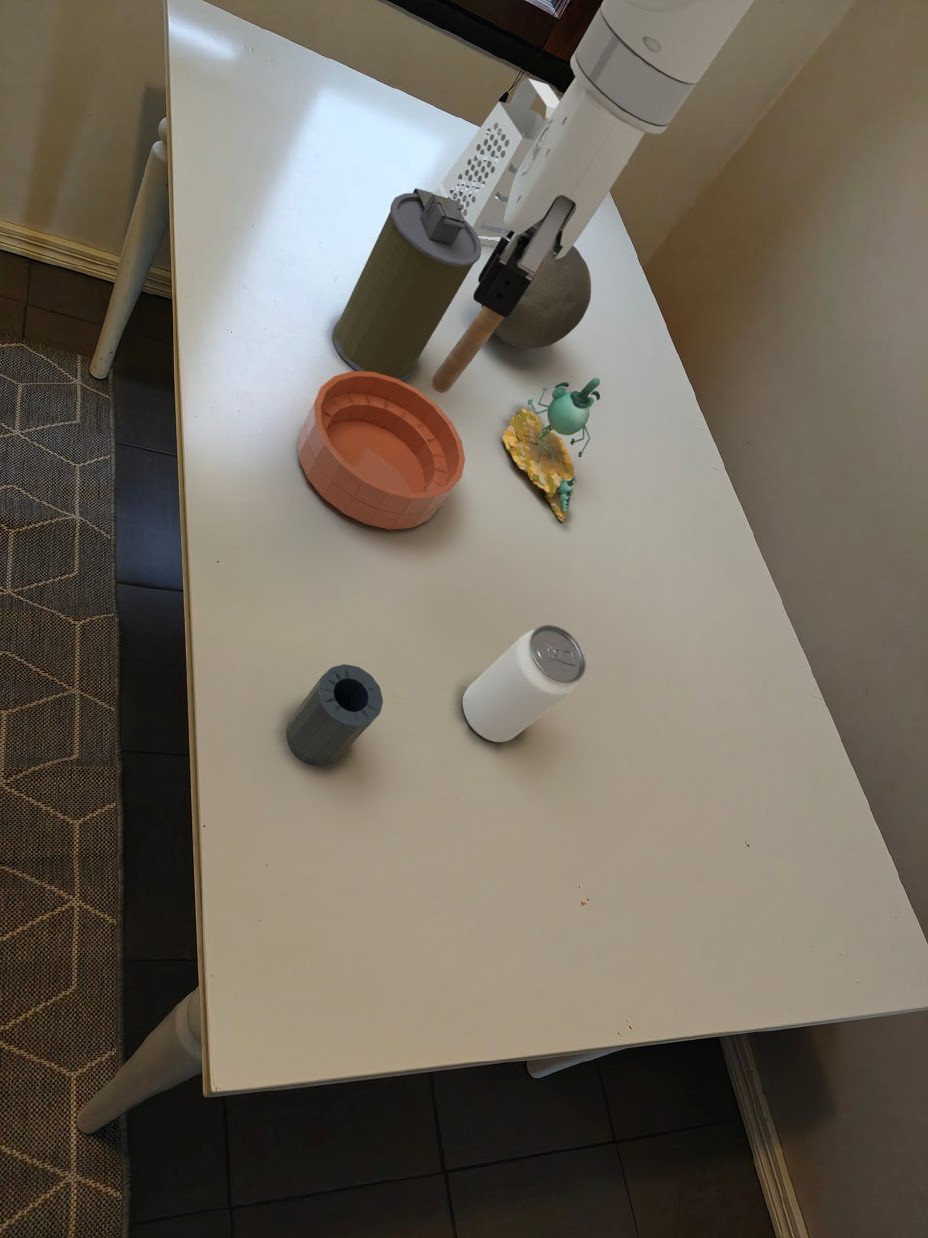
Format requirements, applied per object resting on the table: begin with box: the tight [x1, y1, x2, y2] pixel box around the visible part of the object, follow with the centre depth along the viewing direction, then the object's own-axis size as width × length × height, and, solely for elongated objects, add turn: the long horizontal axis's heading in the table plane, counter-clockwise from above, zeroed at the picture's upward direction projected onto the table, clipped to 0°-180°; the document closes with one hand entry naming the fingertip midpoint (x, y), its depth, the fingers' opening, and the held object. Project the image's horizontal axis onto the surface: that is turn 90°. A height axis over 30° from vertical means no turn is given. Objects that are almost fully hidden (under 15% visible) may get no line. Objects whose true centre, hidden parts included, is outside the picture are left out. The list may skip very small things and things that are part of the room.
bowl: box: [297, 370, 466, 530], centre depth 88 cm, size 16×16×6 cm
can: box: [462, 624, 587, 743], centre depth 77 cm, size 6×6×12 cm
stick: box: [430, 259, 546, 394], centre depth 69 cm, size 2×2×16 cm
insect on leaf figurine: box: [501, 377, 601, 522], centre depth 100 cm, size 10×18×15 cm, turn 5°
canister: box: [331, 187, 483, 382], centre depth 94 cm, size 11×10×20 cm
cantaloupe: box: [481, 245, 592, 349], centre depth 110 cm, size 14×14×15 cm
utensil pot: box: [286, 663, 384, 766], centre depth 68 cm, size 5×5×8 cm
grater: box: [433, 78, 560, 248], centre depth 121 cm, size 10×10×20 cm
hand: (492, 297), depth 68 cm, fingers closed on stick, 1 cm apart
